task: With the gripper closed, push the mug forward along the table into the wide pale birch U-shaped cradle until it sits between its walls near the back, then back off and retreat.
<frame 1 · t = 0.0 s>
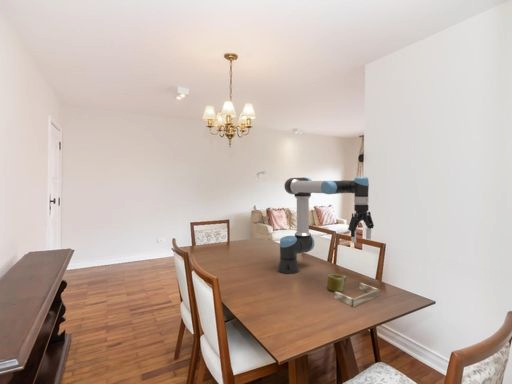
hand: (361, 240, 160), 28 cm above the table, fingers open, 13 cm apart
cradle: (355, 296, 151), on the table
mug: (338, 289, 161), on the table
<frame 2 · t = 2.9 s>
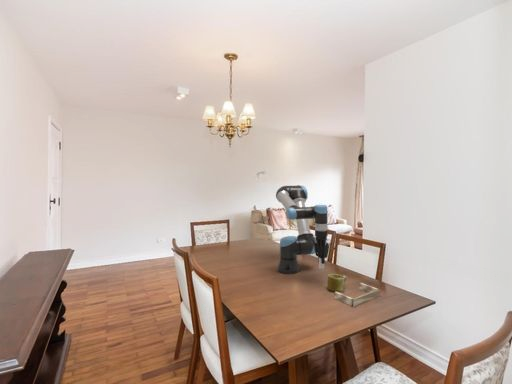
hand: (321, 268, 171), 9 cm above the table, fingers closed
nothing on the table moved.
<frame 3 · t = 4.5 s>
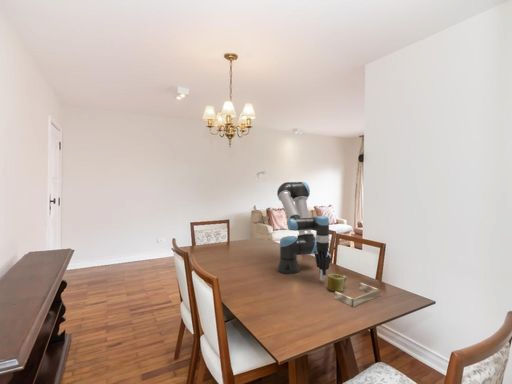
hand: (322, 279, 171), 2 cm above the table, fingers closed
nothing on the table moved.
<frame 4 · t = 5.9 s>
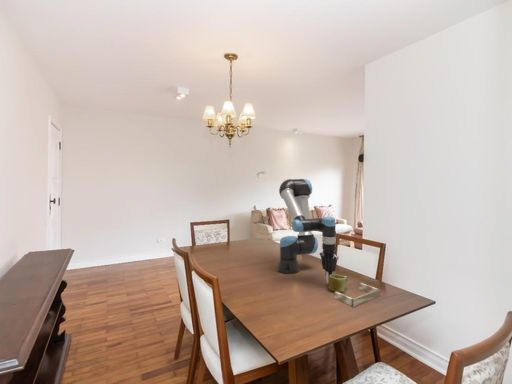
hand: (328, 282, 166), 2 cm above the table, fingers closed
mug: (339, 289, 160), on the table, touching gripper
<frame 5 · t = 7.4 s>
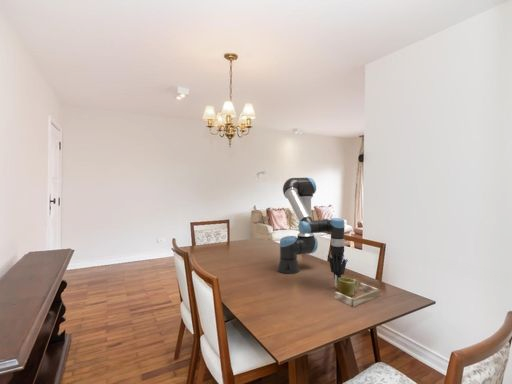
hand: (337, 285, 161), 2 cm above the table, fingers closed
mug: (348, 293, 155), on the table, touching gripper
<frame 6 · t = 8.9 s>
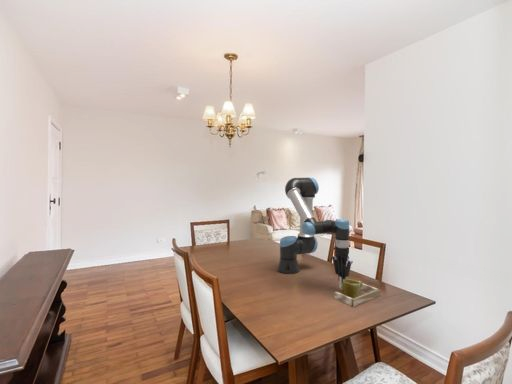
hand: (341, 287, 158), 2 cm above the table, fingers closed
mug: (353, 295, 152), on the table, touching gripper
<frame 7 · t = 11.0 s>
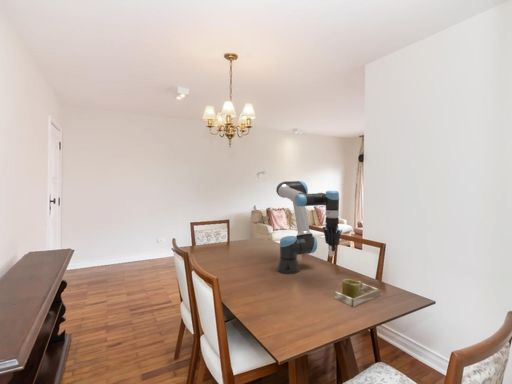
hand: (331, 256, 166), 18 cm above the table, fingers closed
mug: (353, 295, 152), on the table
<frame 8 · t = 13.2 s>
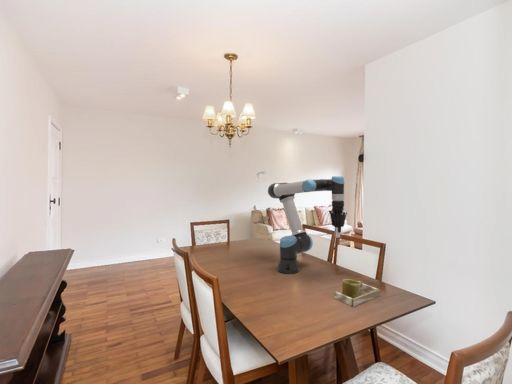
hand: (337, 237, 177), 26 cm above the table, fingers closed
nothing on the table moved.
at the end: mug inside the target area on the cradle (0.4 cm from its centre), point 0.0 cm above the cradle's base; mug moved 10.6 cm from its start; mug on the table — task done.
